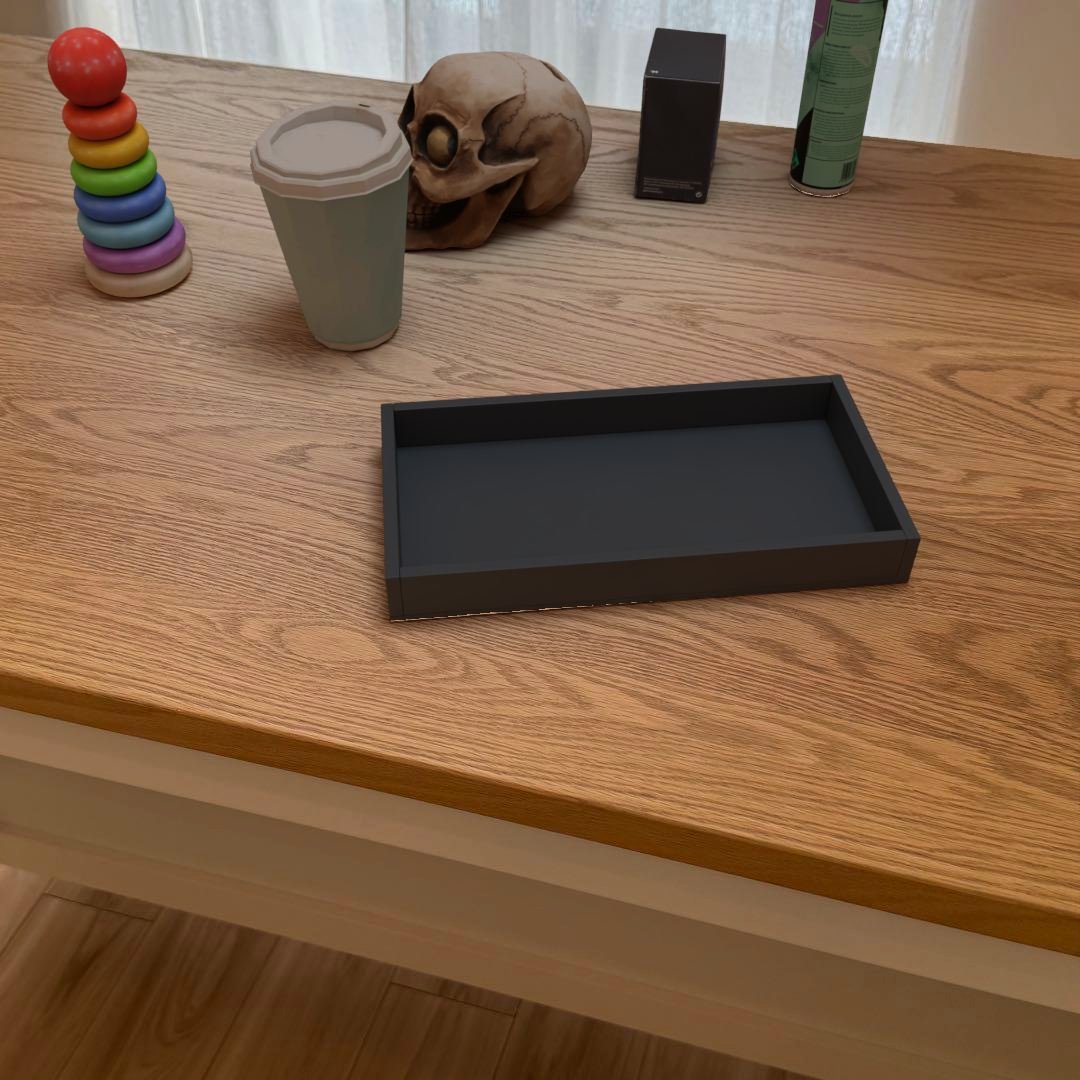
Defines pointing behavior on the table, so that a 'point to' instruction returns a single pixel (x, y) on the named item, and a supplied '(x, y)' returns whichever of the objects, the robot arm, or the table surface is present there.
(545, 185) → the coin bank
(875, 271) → the table surface
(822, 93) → the spray can
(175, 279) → the stacking toy
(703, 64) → the small box
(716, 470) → the tray
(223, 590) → the table surface
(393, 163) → the disposable coffee cup
